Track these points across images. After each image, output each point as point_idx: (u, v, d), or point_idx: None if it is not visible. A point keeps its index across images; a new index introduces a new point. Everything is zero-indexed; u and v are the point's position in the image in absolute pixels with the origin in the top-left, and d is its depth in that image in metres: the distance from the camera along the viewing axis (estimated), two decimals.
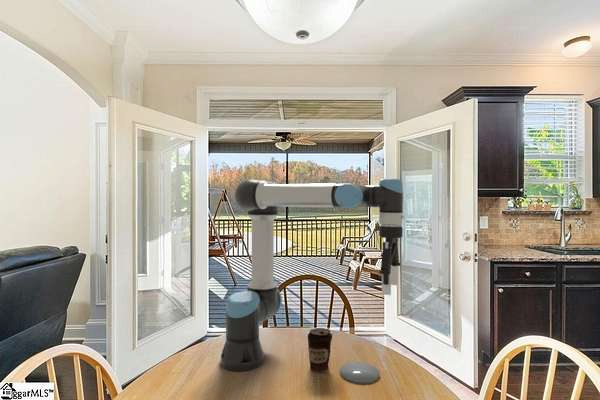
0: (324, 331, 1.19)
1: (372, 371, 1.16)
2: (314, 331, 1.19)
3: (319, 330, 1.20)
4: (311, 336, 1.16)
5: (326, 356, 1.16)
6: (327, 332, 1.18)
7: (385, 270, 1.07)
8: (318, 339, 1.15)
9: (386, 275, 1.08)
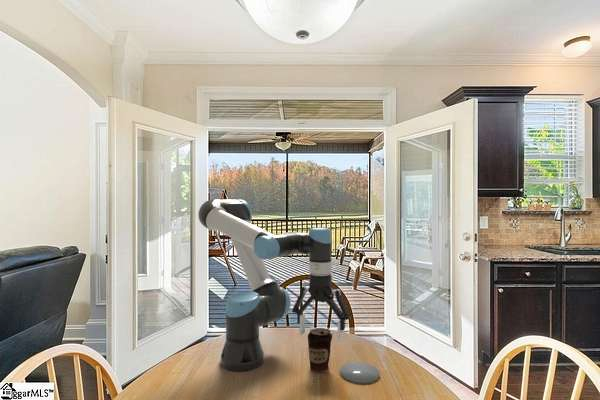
0: (324, 331, 1.19)
1: (372, 371, 1.16)
2: (314, 331, 1.19)
3: (319, 330, 1.20)
4: (311, 336, 1.16)
5: (326, 356, 1.16)
6: (327, 332, 1.18)
7: None
8: (318, 339, 1.15)
9: None
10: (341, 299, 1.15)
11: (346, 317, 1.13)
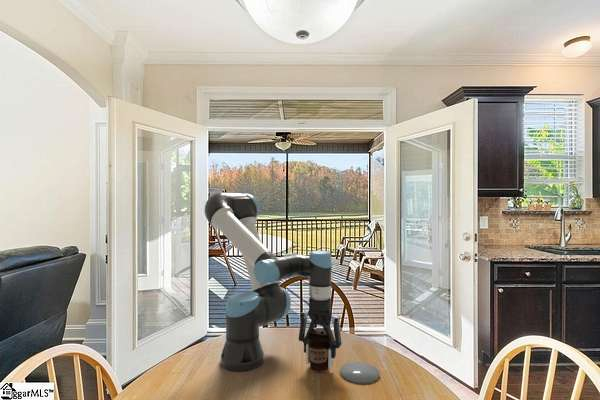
0: (324, 331, 1.19)
1: (372, 371, 1.16)
2: (314, 331, 1.19)
3: (319, 330, 1.20)
4: (311, 336, 1.16)
5: (326, 356, 1.16)
6: None
7: None
8: (319, 339, 1.15)
9: None
10: (338, 327, 1.16)
11: (337, 345, 1.15)
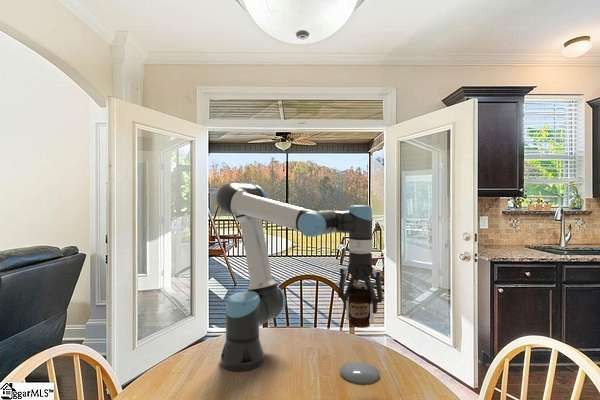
0: (365, 286, 1.16)
1: (372, 371, 1.16)
2: (355, 286, 1.16)
3: (359, 286, 1.17)
4: (352, 290, 1.13)
5: (368, 311, 1.13)
6: None
7: None
8: (361, 293, 1.12)
9: None
10: (379, 281, 1.13)
11: (379, 300, 1.12)
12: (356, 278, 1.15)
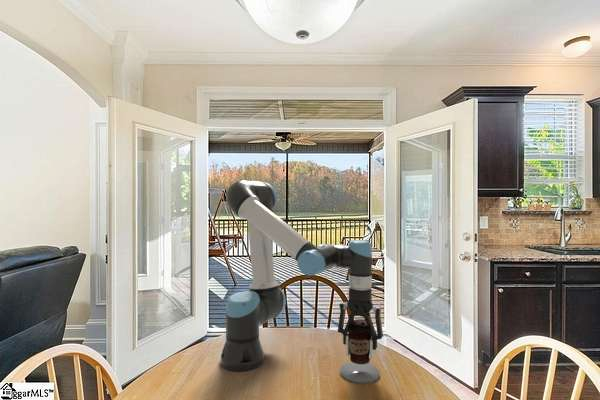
0: (365, 322, 1.16)
1: (372, 371, 1.16)
2: (354, 322, 1.16)
3: (359, 321, 1.17)
4: (352, 327, 1.14)
5: (368, 347, 1.13)
6: None
7: None
8: (360, 329, 1.12)
9: None
10: (379, 318, 1.13)
11: (379, 336, 1.12)
12: (356, 314, 1.15)
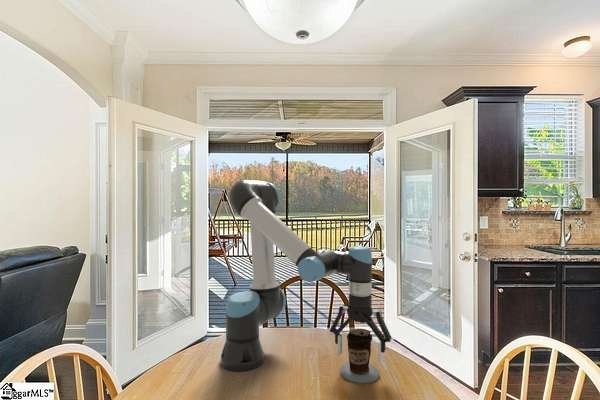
0: (364, 332, 1.16)
1: (372, 371, 1.16)
2: (353, 332, 1.16)
3: (358, 331, 1.17)
4: (351, 337, 1.14)
5: (367, 357, 1.13)
6: (367, 333, 1.15)
7: None
8: (360, 339, 1.12)
9: None
10: (382, 320, 1.13)
11: (387, 339, 1.11)
12: (356, 320, 1.15)
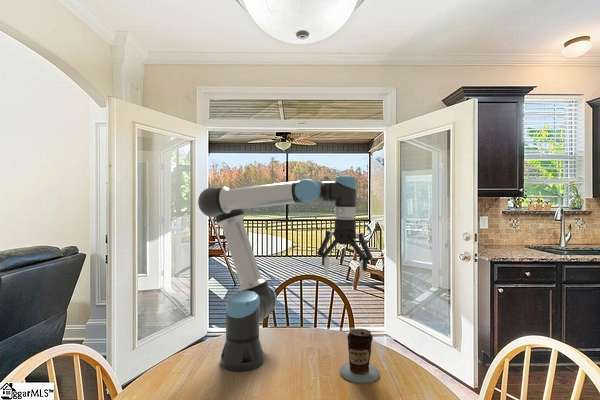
0: (364, 332, 1.16)
1: (372, 371, 1.16)
2: (354, 332, 1.16)
3: (359, 331, 1.17)
4: (352, 337, 1.14)
5: (367, 357, 1.13)
6: (368, 333, 1.15)
7: None
8: (360, 340, 1.12)
9: None
10: (364, 241, 1.23)
11: (368, 258, 1.22)
12: (340, 242, 1.26)
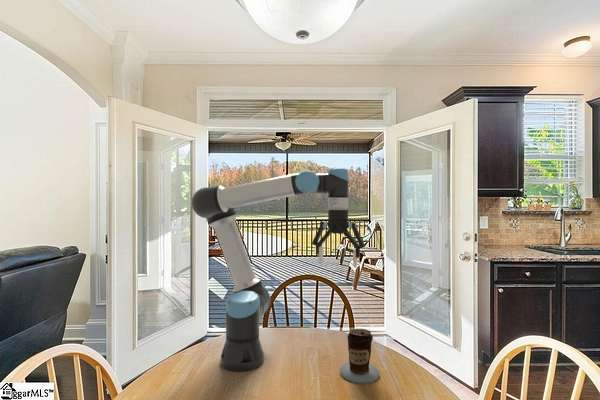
0: (364, 332, 1.16)
1: (372, 371, 1.16)
2: (354, 332, 1.16)
3: (359, 331, 1.17)
4: (352, 337, 1.14)
5: (367, 357, 1.13)
6: (368, 333, 1.15)
7: (313, 242, 1.36)
8: (360, 339, 1.12)
9: None
10: (357, 230, 1.29)
11: (361, 245, 1.28)
12: (334, 232, 1.32)
